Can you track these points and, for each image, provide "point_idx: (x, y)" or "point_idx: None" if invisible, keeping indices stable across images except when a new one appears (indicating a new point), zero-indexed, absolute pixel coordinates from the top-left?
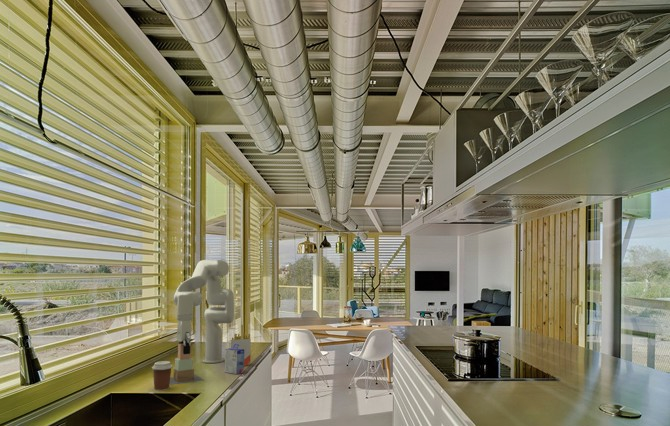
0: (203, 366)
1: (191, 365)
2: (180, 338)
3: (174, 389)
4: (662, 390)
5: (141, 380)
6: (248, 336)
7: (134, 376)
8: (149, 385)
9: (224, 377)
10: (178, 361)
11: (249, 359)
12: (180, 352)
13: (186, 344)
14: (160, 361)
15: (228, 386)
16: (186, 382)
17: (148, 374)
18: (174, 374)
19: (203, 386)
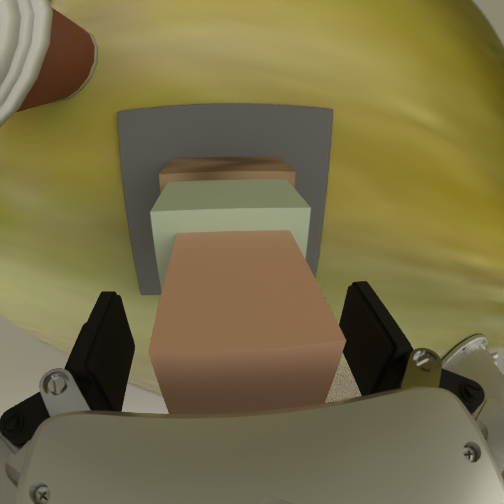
0: (434, 333)
1: None
2: (76, 464)
3: (34, 128)
4: None
5: (376, 11)
6: None
7: (471, 38)
8: (208, 4)
9: None
10: (153, 208)
11: None
12: (165, 278)
13: (35, 397)
14: (3, 24)
15: (27, 333)
16: (131, 206)
17: (475, 101)
18: (256, 163)
19: (42, 263)
